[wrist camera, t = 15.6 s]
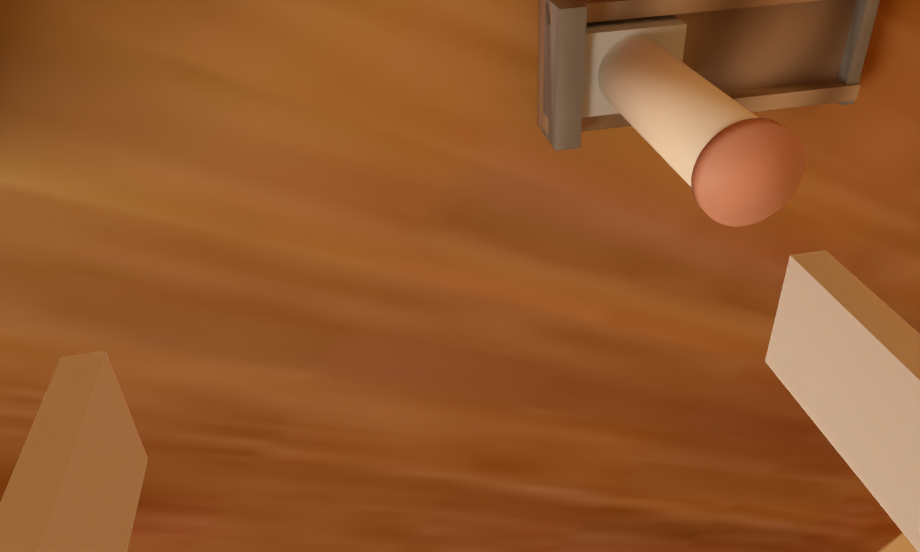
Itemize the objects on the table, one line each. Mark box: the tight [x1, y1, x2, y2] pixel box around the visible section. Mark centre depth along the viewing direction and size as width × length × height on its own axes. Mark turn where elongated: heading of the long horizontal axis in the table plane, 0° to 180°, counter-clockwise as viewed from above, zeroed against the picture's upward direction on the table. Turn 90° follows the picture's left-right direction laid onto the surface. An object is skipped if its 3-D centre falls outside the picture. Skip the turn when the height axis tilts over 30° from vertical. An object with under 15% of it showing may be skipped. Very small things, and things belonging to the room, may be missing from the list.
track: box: [538, 0, 880, 151], centre depth 44 cm, size 20×8×4 cm, turn 93°
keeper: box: [582, 15, 805, 226], centre depth 38 cm, size 6×5×16 cm
